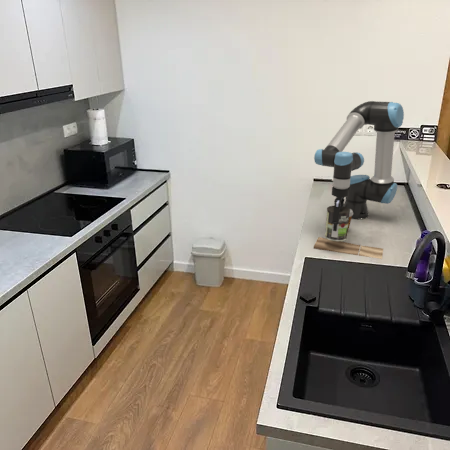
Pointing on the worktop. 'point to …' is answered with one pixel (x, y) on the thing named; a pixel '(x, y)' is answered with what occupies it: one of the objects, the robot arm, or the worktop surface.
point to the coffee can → (342, 224)
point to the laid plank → (371, 252)
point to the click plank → (336, 246)
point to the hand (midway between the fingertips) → (336, 232)
